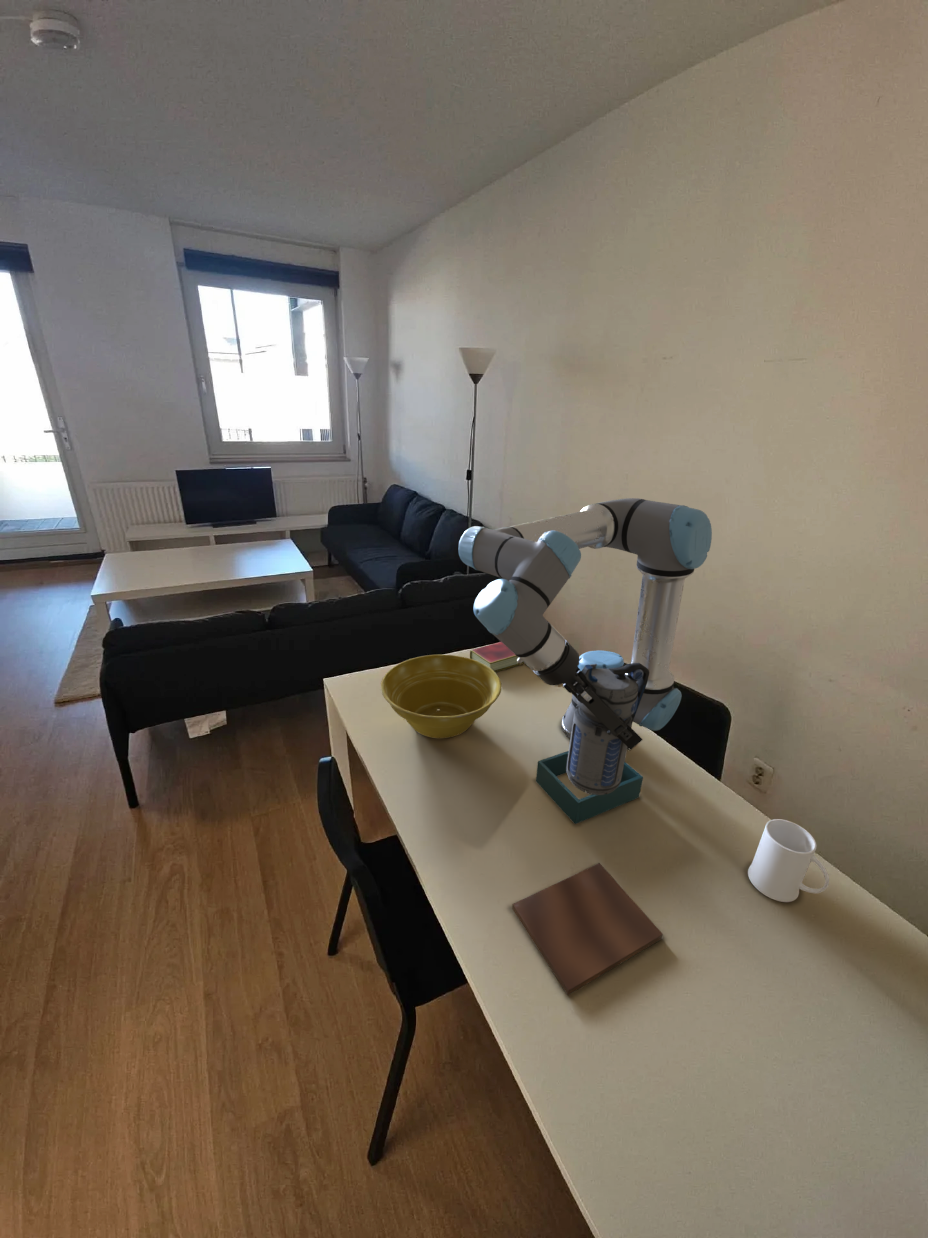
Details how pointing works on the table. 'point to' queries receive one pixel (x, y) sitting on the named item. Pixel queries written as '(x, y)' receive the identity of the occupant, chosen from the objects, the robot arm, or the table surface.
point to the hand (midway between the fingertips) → (620, 725)
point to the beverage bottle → (604, 728)
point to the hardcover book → (495, 656)
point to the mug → (784, 861)
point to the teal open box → (589, 804)
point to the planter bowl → (440, 693)
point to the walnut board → (585, 926)
